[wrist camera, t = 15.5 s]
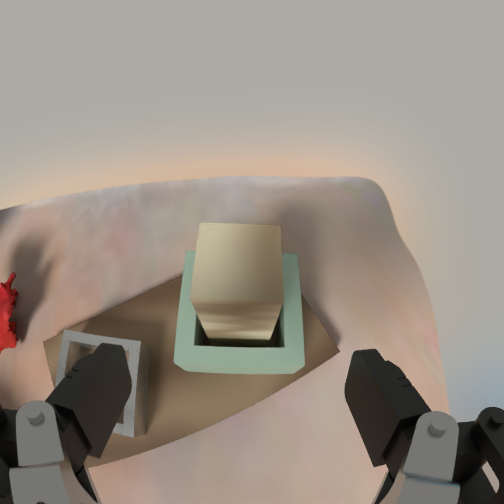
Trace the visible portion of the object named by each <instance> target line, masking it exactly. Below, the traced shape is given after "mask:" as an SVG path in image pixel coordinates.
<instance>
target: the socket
mask: <svg viewBox="0 0 504 504" xmlns="http://www.w3.org/2000/svg"><path fill="white" fill-rule="evenodd" d="M195 253H196V251H186V256H185V263H184V270H183V277H182V285H181V293H180V301H179V310H178V319H177V329H176V339H175V351H174V363H175V364H176V365H178V366H179V367H181V368H182V369H184V370H185V371H190V372H205V373H224V374H294V373H295V372H297V371H298V370H300V369H301V368H302V367H304V366H305V356H304V336H303V319H302V304H301V290H300V277H299V265H298V253H282V265H283V295H284V302H283V305H282V307H281V310H280V313H279V316H278V319H277V348H247V347H214V346H203V342H204V328H203V326H202V324H201V322H200V320H199V318H198V315H197V313H196V311H195V309H194V307H193V304H192V302H191V300H190V290H191V282H192V275H193V267H194V260H195Z"/></svg>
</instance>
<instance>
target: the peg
mask: <svg viewBox="0 0 504 504" xmlns="http://www.w3.org/2000/svg"><path fill="white" fill-rule="evenodd" d="M190 300H191V302H192V304H193V307H194V309H195V311H196V313H197V315H198V318H199V320H200V322H201V324H202V326H203V328H204V330H205V332H206V335H207V337H208V339H209V341H210V343H211V345H212V346H214V347H247V348H267V346H268V344H269V341H270V338H271V335H272V333H273V330H274V327H275V324H276V322H277V319H278V316H279V313H280V310H281V307H282V305H283V302H284V295H283V265H282V241H281V225H261V224H228V223H200V226H199V233H198V239H197V246H196V253H195V260H194V267H193V275H192V282H191V290H190Z"/></svg>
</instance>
